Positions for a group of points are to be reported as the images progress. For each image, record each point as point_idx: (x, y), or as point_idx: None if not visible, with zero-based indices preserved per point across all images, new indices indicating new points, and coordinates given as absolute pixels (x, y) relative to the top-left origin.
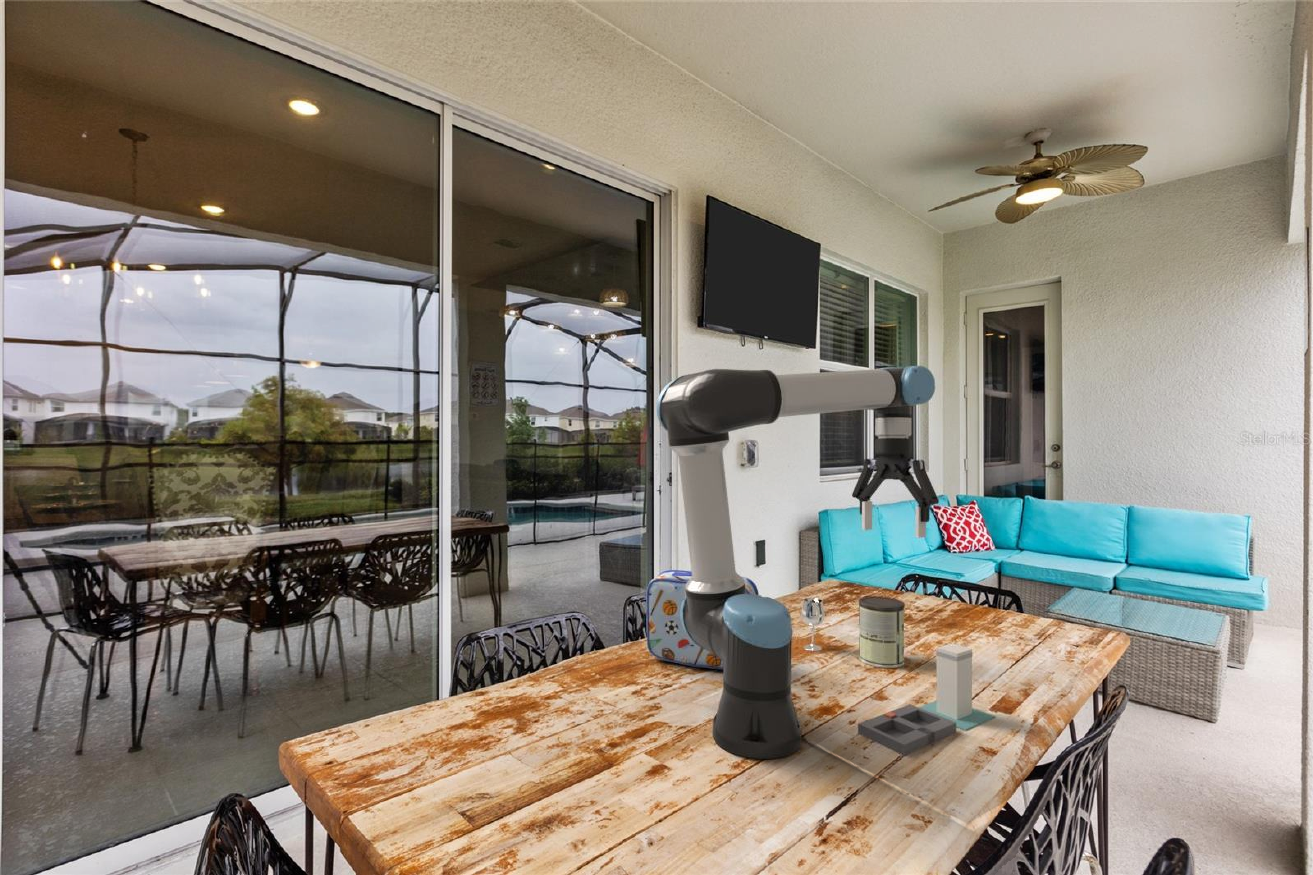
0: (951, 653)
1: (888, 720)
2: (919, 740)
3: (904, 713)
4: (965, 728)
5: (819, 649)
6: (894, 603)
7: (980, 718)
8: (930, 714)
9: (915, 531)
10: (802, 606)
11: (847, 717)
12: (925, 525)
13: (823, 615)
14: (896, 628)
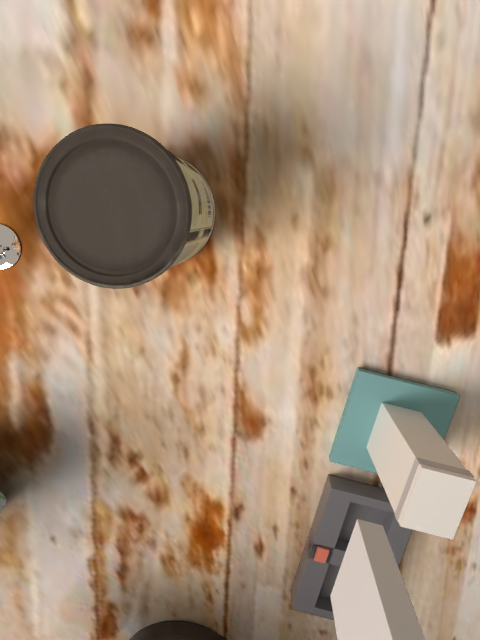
0: (437, 533)
1: (325, 571)
2: None
3: (337, 531)
4: None
5: (18, 249)
6: (153, 193)
7: (439, 424)
8: (374, 507)
9: (337, 634)
10: None
11: (246, 537)
12: (404, 603)
13: None
14: (193, 241)
